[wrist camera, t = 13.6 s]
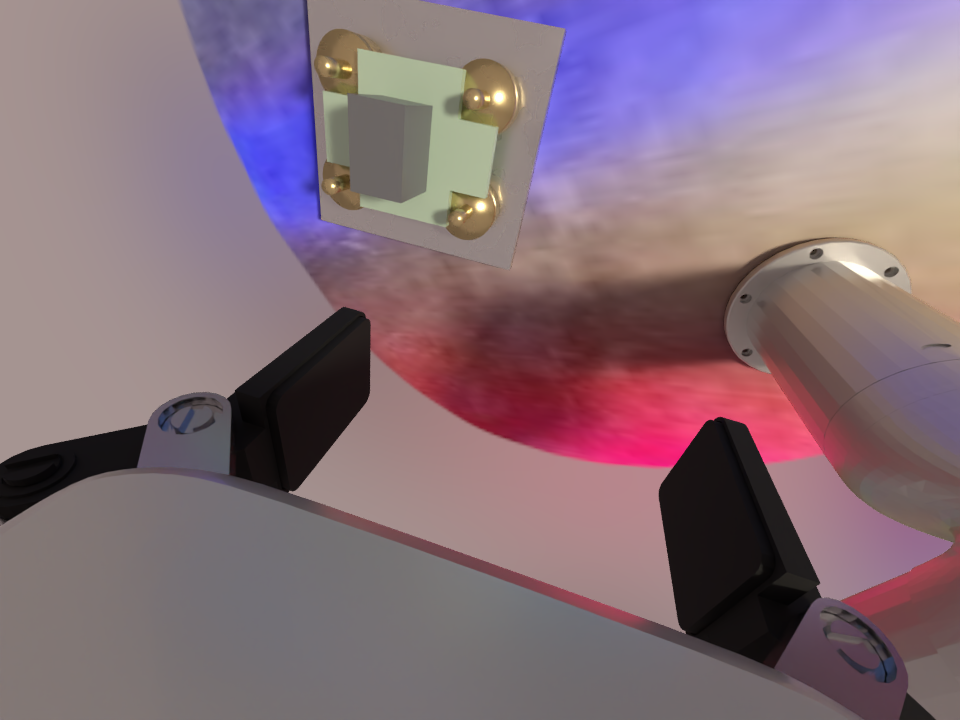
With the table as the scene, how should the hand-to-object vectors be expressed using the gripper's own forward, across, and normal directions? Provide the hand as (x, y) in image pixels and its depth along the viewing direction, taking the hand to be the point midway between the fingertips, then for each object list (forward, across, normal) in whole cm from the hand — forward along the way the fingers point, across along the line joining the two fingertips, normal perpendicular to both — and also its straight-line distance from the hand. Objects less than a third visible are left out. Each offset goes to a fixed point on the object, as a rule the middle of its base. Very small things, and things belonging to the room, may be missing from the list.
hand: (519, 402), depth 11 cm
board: (+25, +14, -2) cm, 28 cm away
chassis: (+28, +14, -2) cm, 32 cm away
